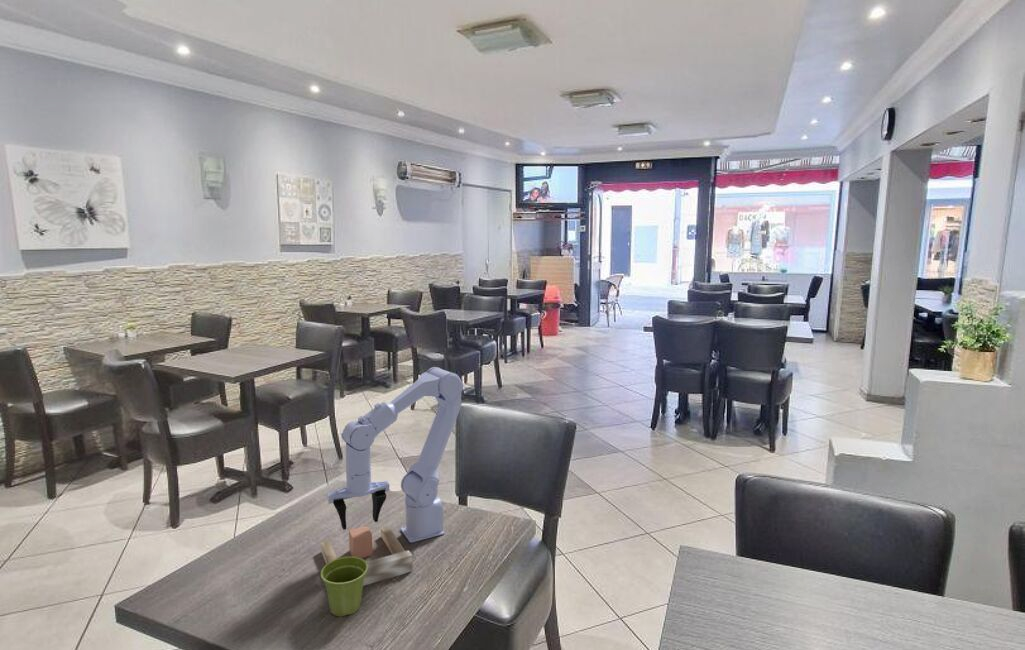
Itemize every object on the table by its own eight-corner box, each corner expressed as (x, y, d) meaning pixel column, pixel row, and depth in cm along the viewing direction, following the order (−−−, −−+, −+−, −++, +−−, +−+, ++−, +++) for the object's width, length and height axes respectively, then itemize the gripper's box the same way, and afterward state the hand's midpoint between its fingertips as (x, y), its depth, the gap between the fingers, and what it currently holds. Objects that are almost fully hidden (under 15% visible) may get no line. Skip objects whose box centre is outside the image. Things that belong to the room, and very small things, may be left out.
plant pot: (377, 598, 116) (376, 561, 115) (351, 627, 107) (349, 587, 106) (341, 589, 119) (339, 552, 118) (312, 616, 110) (310, 577, 109)
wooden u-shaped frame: (388, 534, 142) (388, 520, 141) (412, 571, 126) (412, 555, 126) (321, 551, 134) (320, 536, 133) (337, 593, 118) (337, 576, 117)
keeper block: (367, 546, 137) (367, 525, 136) (372, 555, 133) (371, 534, 132) (349, 550, 134) (348, 530, 134) (353, 560, 130) (353, 538, 130)
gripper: (383, 460, 138) (384, 510, 139) (324, 470, 130) (325, 523, 132) (391, 469, 131) (392, 522, 133) (330, 481, 124) (331, 536, 126)
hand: (359, 523), depth 132 cm, fingers open, 7 cm apart
